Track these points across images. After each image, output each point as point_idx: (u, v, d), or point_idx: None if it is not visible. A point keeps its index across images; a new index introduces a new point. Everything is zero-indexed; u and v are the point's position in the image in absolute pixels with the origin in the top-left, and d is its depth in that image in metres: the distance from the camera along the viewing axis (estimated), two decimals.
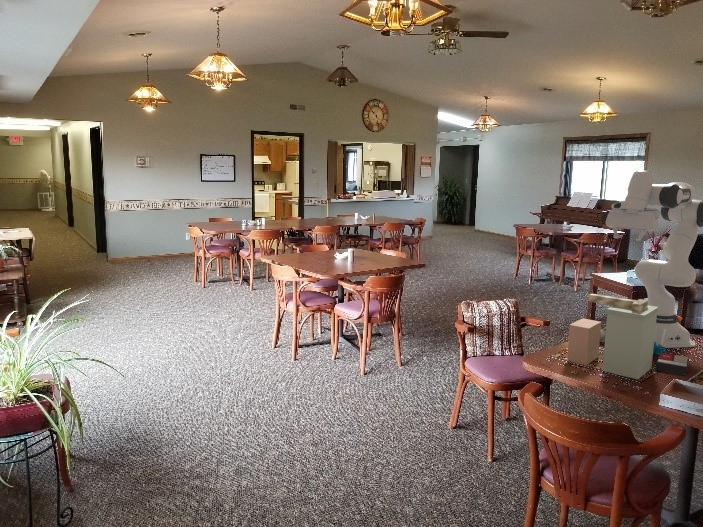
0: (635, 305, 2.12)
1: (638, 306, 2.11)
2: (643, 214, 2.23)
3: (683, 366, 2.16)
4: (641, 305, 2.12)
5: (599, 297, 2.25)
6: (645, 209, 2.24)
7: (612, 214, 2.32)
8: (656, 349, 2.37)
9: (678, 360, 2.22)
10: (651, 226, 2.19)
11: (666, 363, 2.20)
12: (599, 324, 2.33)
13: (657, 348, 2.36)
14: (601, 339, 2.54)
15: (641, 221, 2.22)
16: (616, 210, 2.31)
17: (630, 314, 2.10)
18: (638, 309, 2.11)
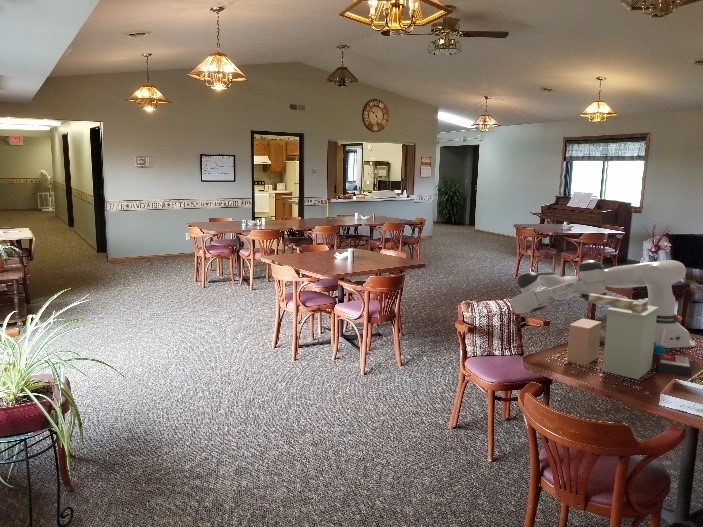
0: (635, 305, 2.12)
1: (638, 306, 2.11)
2: None
3: (686, 366, 2.16)
4: (641, 305, 2.12)
5: (599, 297, 2.25)
6: None
7: None
8: (656, 349, 2.37)
9: (680, 360, 2.22)
10: None
11: (669, 364, 2.19)
12: (599, 324, 2.33)
13: (657, 348, 2.35)
14: (602, 339, 2.54)
15: None
16: (538, 290, 2.39)
17: (630, 314, 2.10)
18: (638, 309, 2.11)
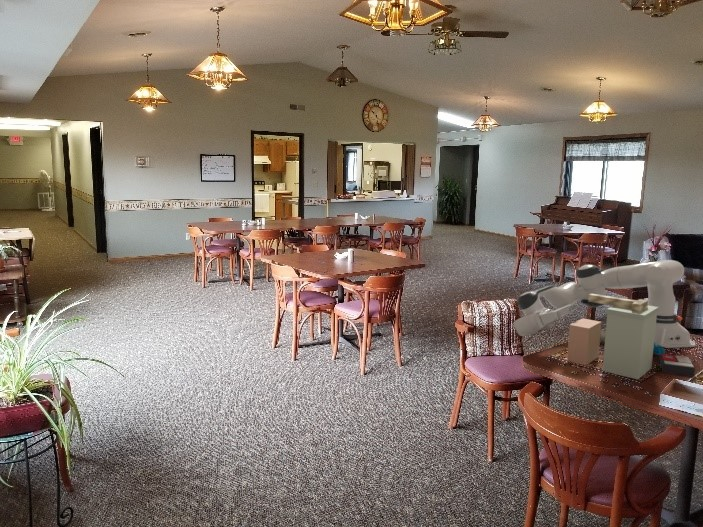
0: (635, 305, 2.12)
1: (638, 306, 2.11)
2: (555, 310, 2.45)
3: (690, 367, 2.15)
4: (641, 305, 2.12)
5: (599, 297, 2.25)
6: None
7: None
8: (655, 349, 2.36)
9: (682, 361, 2.22)
10: (568, 304, 2.45)
11: (673, 364, 2.18)
12: (599, 324, 2.33)
13: (656, 348, 2.35)
14: (602, 340, 2.53)
15: None
16: (542, 313, 2.38)
17: (630, 314, 2.10)
18: (638, 309, 2.11)
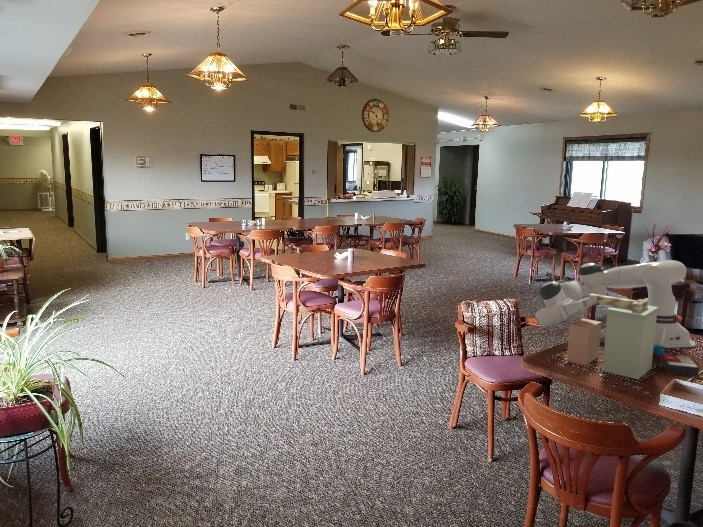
0: (635, 305, 2.12)
1: (638, 306, 2.11)
2: (579, 300, 2.37)
3: (694, 367, 2.15)
4: (641, 305, 2.12)
5: (599, 297, 2.25)
6: None
7: None
8: (655, 349, 2.36)
9: (685, 361, 2.21)
10: None
11: (678, 365, 2.17)
12: (599, 324, 2.33)
13: (655, 348, 2.35)
14: (603, 340, 2.53)
15: None
16: (566, 303, 2.30)
17: (630, 314, 2.10)
18: (638, 309, 2.11)
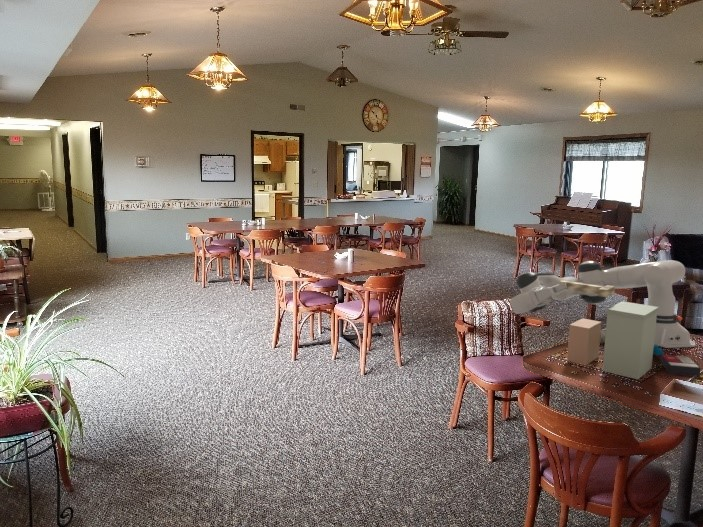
0: (601, 290, 2.20)
1: (604, 291, 2.19)
2: None
3: (696, 367, 2.15)
4: (607, 290, 2.20)
5: (569, 283, 2.33)
6: None
7: None
8: (654, 349, 2.36)
9: (686, 361, 2.21)
10: None
11: (679, 366, 2.16)
12: (599, 324, 2.33)
13: (654, 348, 2.35)
14: (604, 340, 2.53)
15: None
16: (537, 290, 2.38)
17: (630, 314, 2.10)
18: (604, 294, 2.19)
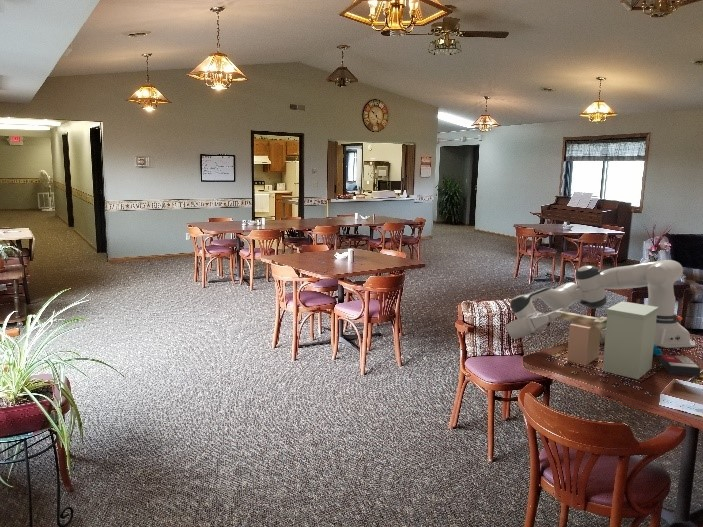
0: (596, 323, 2.23)
1: (599, 324, 2.23)
2: (547, 313, 2.48)
3: (696, 367, 2.15)
4: (602, 323, 2.23)
5: (564, 314, 2.36)
6: None
7: None
8: (653, 349, 2.36)
9: (685, 361, 2.21)
10: None
11: (679, 366, 2.16)
12: None
13: (653, 348, 2.35)
14: None
15: None
16: (533, 316, 2.41)
17: (630, 314, 2.10)
18: (599, 326, 2.23)
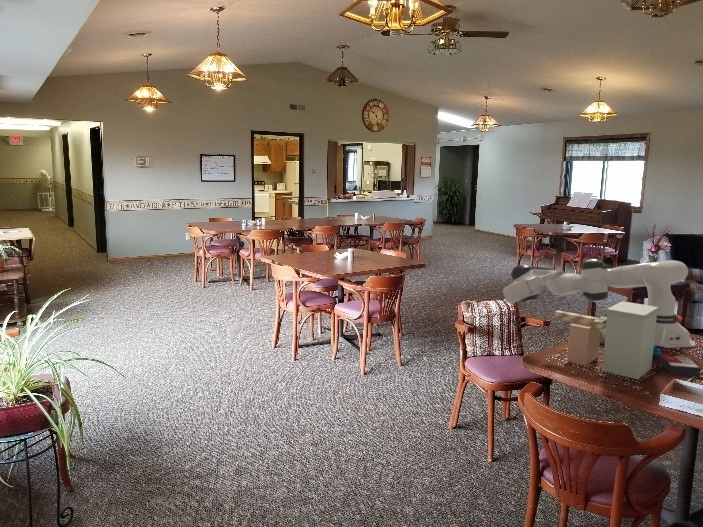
0: (596, 323, 2.23)
1: (599, 324, 2.23)
2: None
3: (696, 367, 2.15)
4: (602, 323, 2.23)
5: (564, 314, 2.36)
6: None
7: None
8: None
9: (685, 361, 2.21)
10: None
11: (679, 366, 2.16)
12: None
13: (653, 348, 2.35)
14: None
15: None
16: (529, 279, 2.49)
17: (630, 314, 2.10)
18: (599, 326, 2.23)
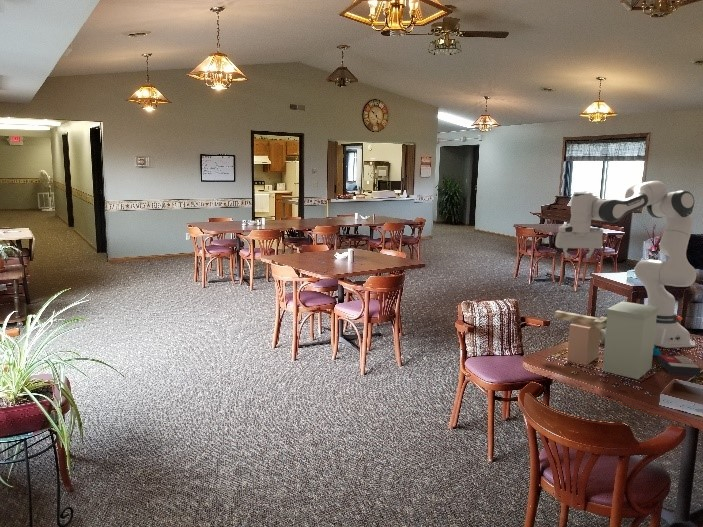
0: (596, 323, 2.23)
1: (599, 324, 2.23)
2: (591, 235, 2.44)
3: (696, 368, 2.15)
4: (602, 323, 2.23)
5: (564, 314, 2.36)
6: (590, 229, 2.45)
7: (563, 237, 2.45)
8: None
9: (685, 361, 2.21)
10: (600, 245, 2.44)
11: (679, 366, 2.16)
12: None
13: None
14: None
15: (591, 242, 2.44)
16: (567, 233, 2.44)
17: (630, 314, 2.10)
18: (599, 326, 2.23)
